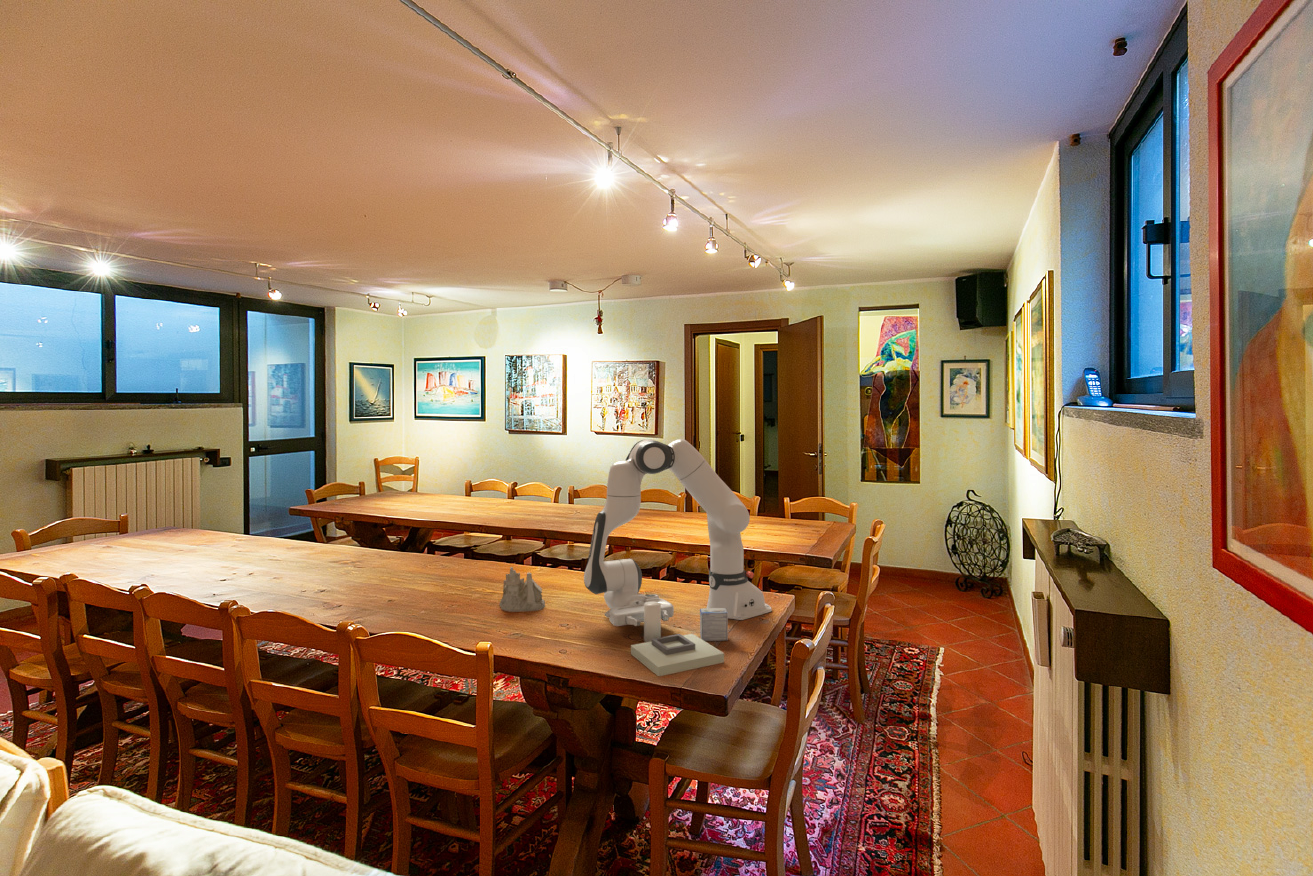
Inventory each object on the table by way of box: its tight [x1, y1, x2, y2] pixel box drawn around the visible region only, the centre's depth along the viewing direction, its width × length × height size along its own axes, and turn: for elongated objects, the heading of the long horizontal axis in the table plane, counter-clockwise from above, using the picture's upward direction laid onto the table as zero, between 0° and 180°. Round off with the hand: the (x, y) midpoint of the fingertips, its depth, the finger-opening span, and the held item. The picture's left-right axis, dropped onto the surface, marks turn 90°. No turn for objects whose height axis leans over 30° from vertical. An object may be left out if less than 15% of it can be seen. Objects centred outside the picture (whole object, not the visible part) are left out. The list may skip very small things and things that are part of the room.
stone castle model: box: [499, 566, 546, 613], centre depth 227 cm, size 16×16×15 cm
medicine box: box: [699, 607, 729, 642], centre depth 193 cm, size 8×4×9 cm, turn 92°
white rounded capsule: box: [643, 602, 662, 643], centre depth 191 cm, size 5×5×11 cm
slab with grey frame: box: [630, 633, 725, 677], centre depth 178 cm, size 20×17×4 cm
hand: (652, 620), depth 191 cm, fingers open, 8 cm apart
